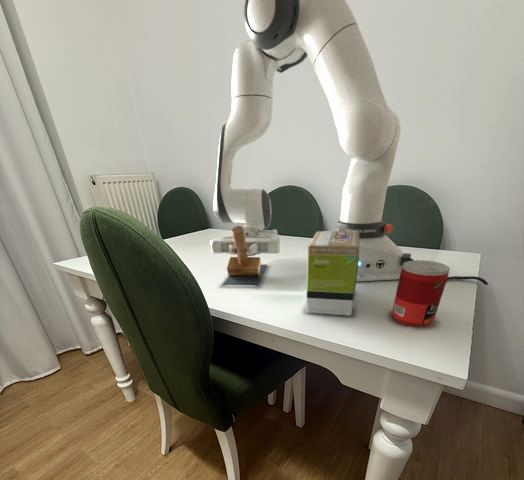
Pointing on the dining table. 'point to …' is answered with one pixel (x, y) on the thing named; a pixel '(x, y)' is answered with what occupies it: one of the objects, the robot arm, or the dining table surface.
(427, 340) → the dining table surface
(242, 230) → the brush
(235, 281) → the mat
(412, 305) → the canned food
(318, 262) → the tea box
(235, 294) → the dining table surface
